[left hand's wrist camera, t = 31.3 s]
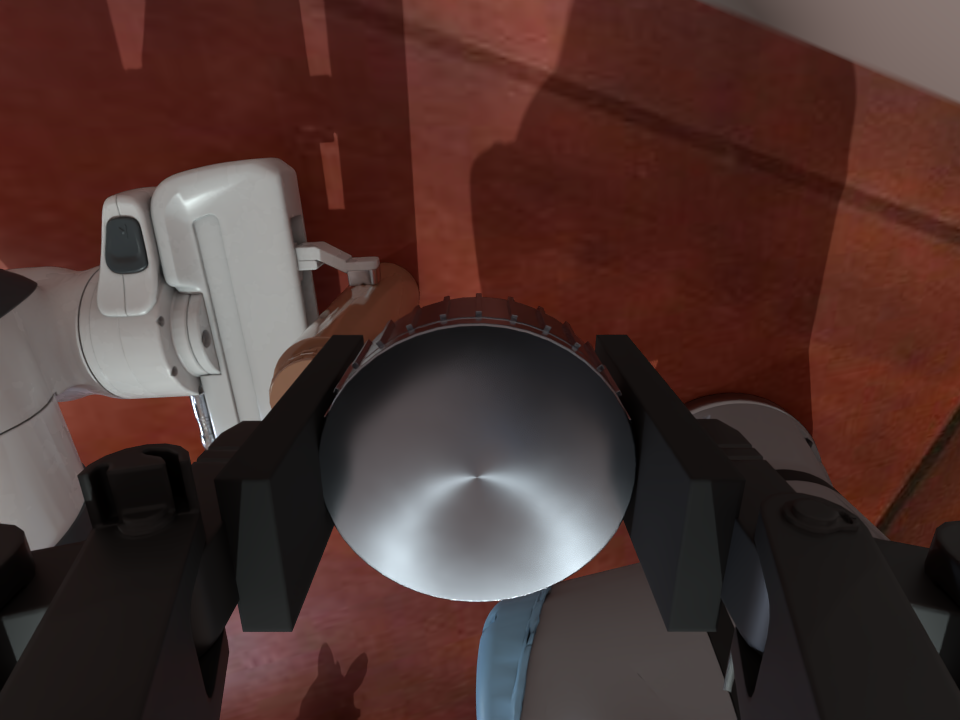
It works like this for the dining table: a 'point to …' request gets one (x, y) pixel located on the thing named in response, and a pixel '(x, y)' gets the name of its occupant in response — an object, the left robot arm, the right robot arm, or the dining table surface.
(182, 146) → the dining table surface
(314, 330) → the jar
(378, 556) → the lid
